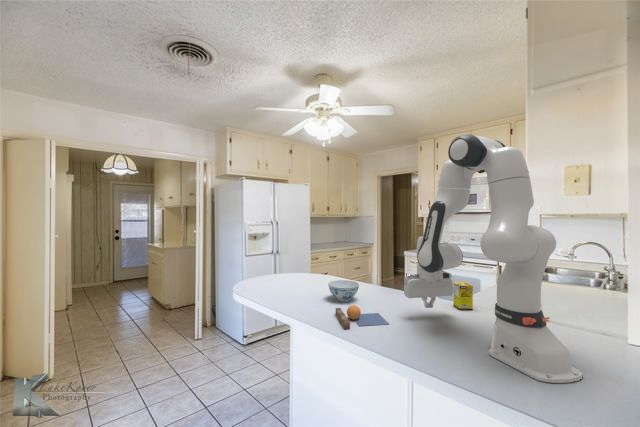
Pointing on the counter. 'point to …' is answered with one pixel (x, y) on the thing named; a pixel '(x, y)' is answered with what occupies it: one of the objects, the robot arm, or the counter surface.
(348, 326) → the bar
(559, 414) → the counter surface
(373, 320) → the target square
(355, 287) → the chinaware
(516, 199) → the robot arm
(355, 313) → the ball
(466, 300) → the supplement box
